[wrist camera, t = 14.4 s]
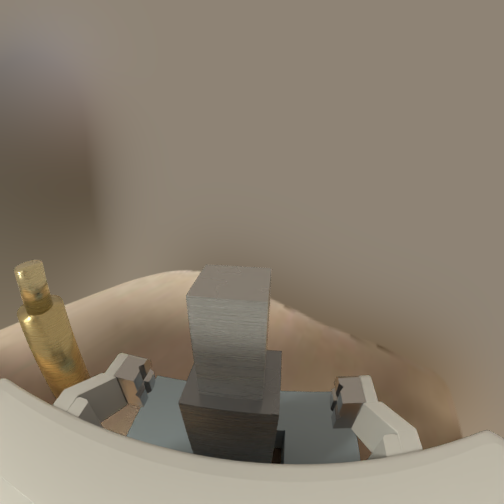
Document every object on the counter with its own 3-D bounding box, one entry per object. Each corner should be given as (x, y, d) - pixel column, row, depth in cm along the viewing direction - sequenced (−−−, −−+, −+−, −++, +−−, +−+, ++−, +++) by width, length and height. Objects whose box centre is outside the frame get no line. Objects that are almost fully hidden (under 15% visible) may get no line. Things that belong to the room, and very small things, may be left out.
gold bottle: (52, 404, 16) (-5, 273, 12) (75, 379, 19) (33, 253, 15) (83, 422, 15) (21, 281, 11) (106, 392, 19) (63, 258, 15)
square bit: (207, 493, 12) (157, 304, 7) (217, 452, 15) (194, 257, 10) (264, 499, 11) (292, 315, 7) (268, 457, 15) (289, 262, 10)
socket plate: (109, 520, 8) (91, 508, 7) (163, 396, 19) (157, 375, 19) (354, 551, 7) (369, 545, 6) (340, 411, 18) (348, 391, 17)
